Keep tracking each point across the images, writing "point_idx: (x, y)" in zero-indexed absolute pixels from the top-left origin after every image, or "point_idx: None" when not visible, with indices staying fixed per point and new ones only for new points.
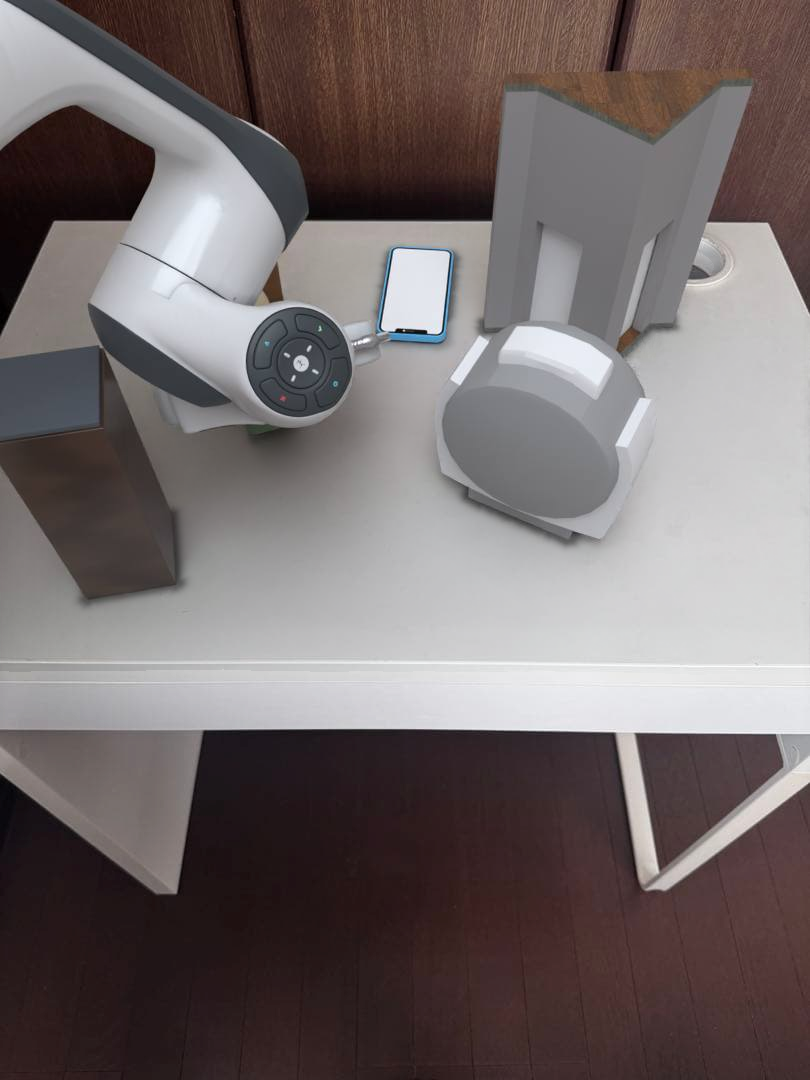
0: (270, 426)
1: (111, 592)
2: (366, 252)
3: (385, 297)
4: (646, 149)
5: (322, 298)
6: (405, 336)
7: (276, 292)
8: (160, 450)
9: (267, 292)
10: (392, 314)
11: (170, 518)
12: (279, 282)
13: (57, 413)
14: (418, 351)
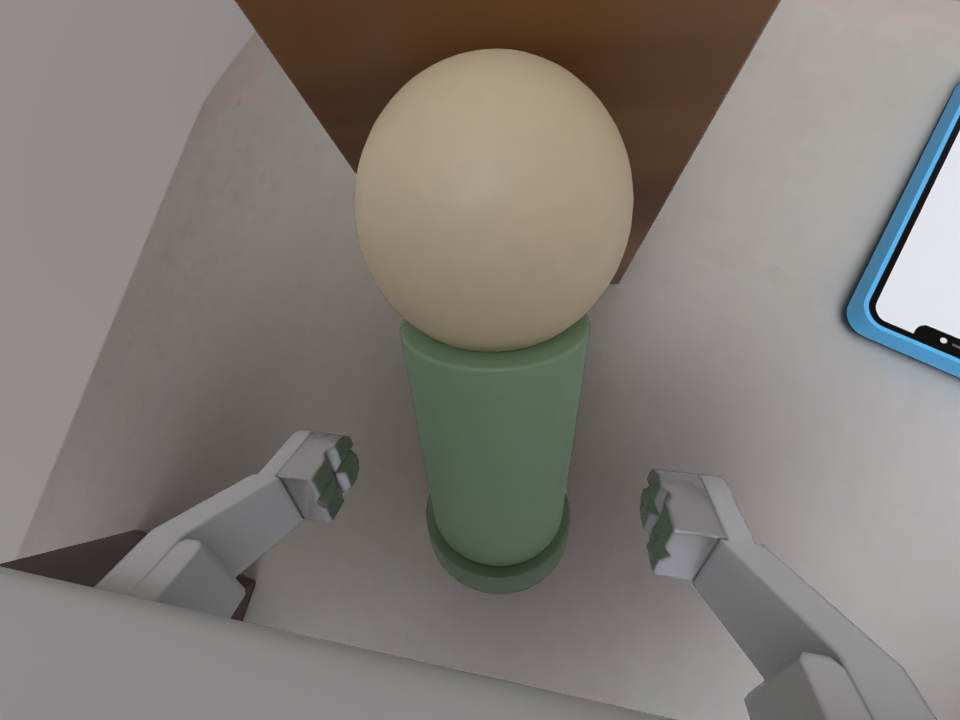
0: (468, 584)
1: None
2: (893, 60)
3: (918, 211)
4: None
5: (737, 162)
6: (937, 358)
7: (669, 154)
8: (298, 419)
9: (637, 147)
10: (923, 273)
11: (234, 612)
12: (709, 116)
13: None
14: (940, 403)
